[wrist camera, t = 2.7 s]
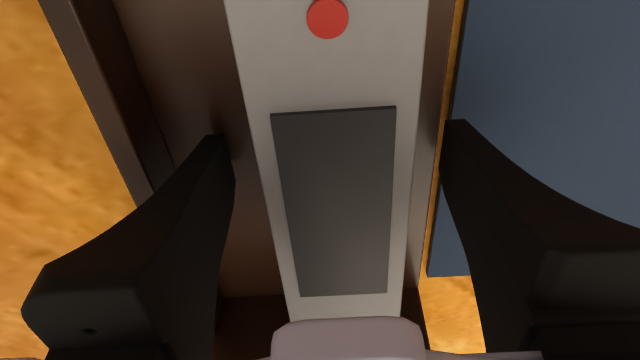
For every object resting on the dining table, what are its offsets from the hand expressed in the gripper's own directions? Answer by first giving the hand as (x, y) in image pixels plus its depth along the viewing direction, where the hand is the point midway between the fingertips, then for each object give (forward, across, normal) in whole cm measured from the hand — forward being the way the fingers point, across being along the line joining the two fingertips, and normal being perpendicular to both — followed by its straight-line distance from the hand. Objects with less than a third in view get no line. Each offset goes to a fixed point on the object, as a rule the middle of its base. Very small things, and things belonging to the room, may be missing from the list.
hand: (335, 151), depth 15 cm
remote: (0, 0, 0) cm, 0 cm away
